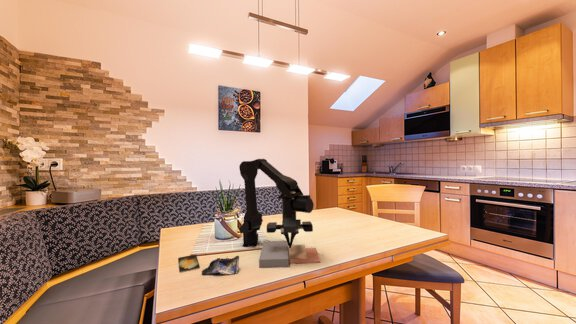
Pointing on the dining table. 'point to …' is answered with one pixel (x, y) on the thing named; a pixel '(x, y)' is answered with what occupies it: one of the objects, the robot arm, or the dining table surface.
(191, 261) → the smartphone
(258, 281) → the dining table surface
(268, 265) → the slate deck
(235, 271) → the snack package
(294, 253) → the birch tile
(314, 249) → the terracotta mat
